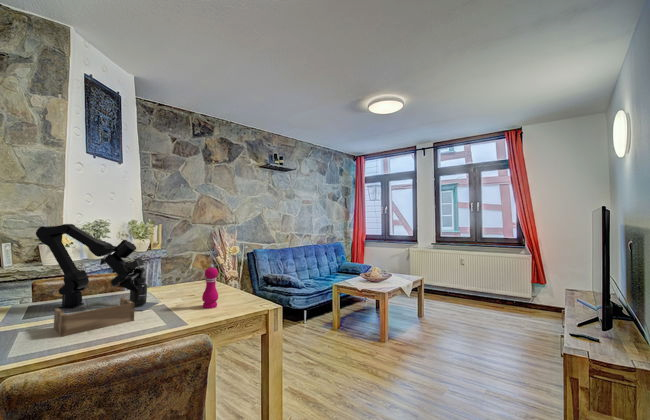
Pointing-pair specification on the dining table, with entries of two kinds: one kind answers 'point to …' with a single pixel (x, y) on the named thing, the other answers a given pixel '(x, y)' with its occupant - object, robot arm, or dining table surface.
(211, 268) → the pepper mill
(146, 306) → the felt mat
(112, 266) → the robot arm
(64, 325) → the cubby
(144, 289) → the supplement bottle
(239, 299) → the dining table surface
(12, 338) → the dining table surface
